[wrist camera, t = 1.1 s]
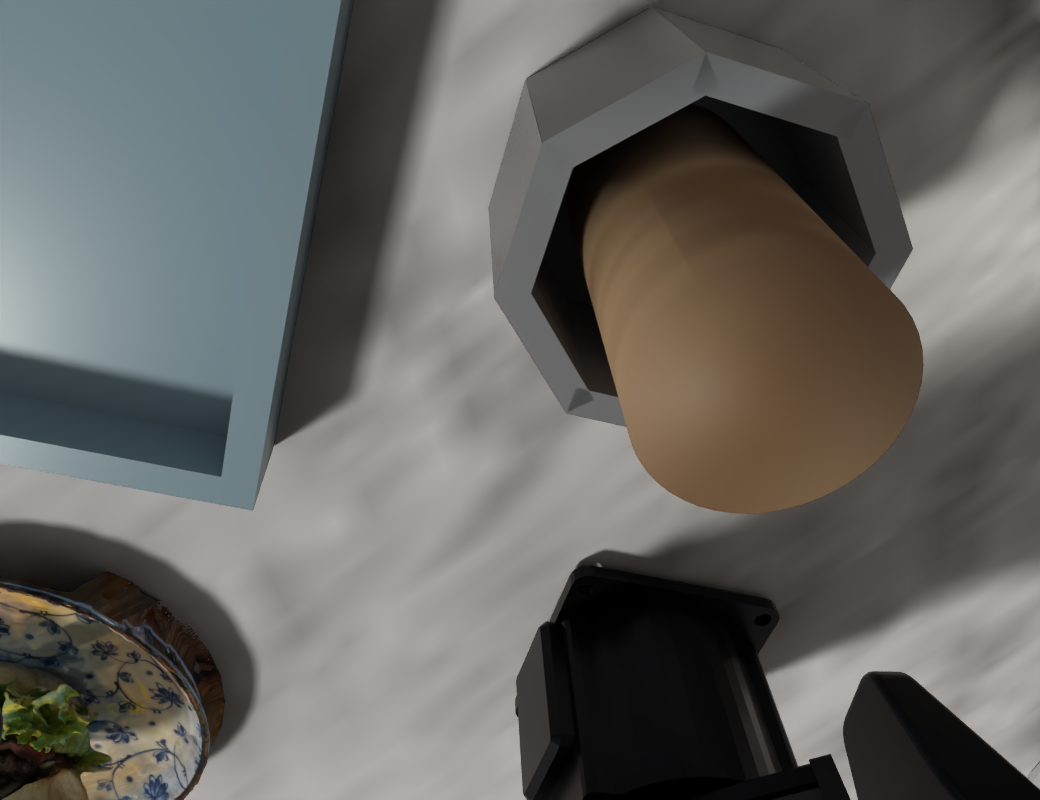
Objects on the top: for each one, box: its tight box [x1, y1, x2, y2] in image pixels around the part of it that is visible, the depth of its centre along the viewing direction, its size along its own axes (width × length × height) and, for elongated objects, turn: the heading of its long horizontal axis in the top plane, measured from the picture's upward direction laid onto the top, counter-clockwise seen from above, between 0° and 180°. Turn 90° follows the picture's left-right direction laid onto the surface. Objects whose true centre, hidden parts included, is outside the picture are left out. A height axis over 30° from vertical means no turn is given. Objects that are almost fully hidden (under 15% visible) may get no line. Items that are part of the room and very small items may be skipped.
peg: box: [567, 104, 923, 514], centre depth 15 cm, size 4×4×8 cm
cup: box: [489, 7, 913, 427], centre depth 17 cm, size 7×7×4 cm
